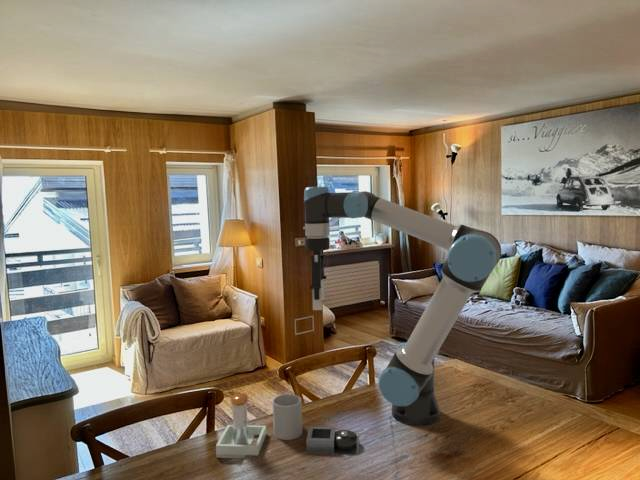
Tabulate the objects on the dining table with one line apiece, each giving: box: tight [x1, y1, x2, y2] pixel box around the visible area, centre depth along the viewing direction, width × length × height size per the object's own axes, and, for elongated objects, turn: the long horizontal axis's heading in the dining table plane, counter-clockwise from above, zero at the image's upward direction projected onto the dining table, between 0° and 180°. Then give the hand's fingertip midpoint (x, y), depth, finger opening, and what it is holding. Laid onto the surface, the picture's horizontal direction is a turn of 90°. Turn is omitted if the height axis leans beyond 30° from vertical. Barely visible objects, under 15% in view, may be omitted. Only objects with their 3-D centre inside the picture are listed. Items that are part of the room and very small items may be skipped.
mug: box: [272, 393, 303, 441], centre depth 143 cm, size 12×8×11 cm
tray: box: [215, 424, 267, 459], centre depth 136 cm, size 12×12×3 cm
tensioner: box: [305, 426, 360, 456], centre depth 135 cm, size 14×10×4 cm
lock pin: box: [230, 392, 249, 445], centre depth 136 cm, size 5×5×14 cm
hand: (319, 304), depth 150 cm, fingers open, 13 cm apart
